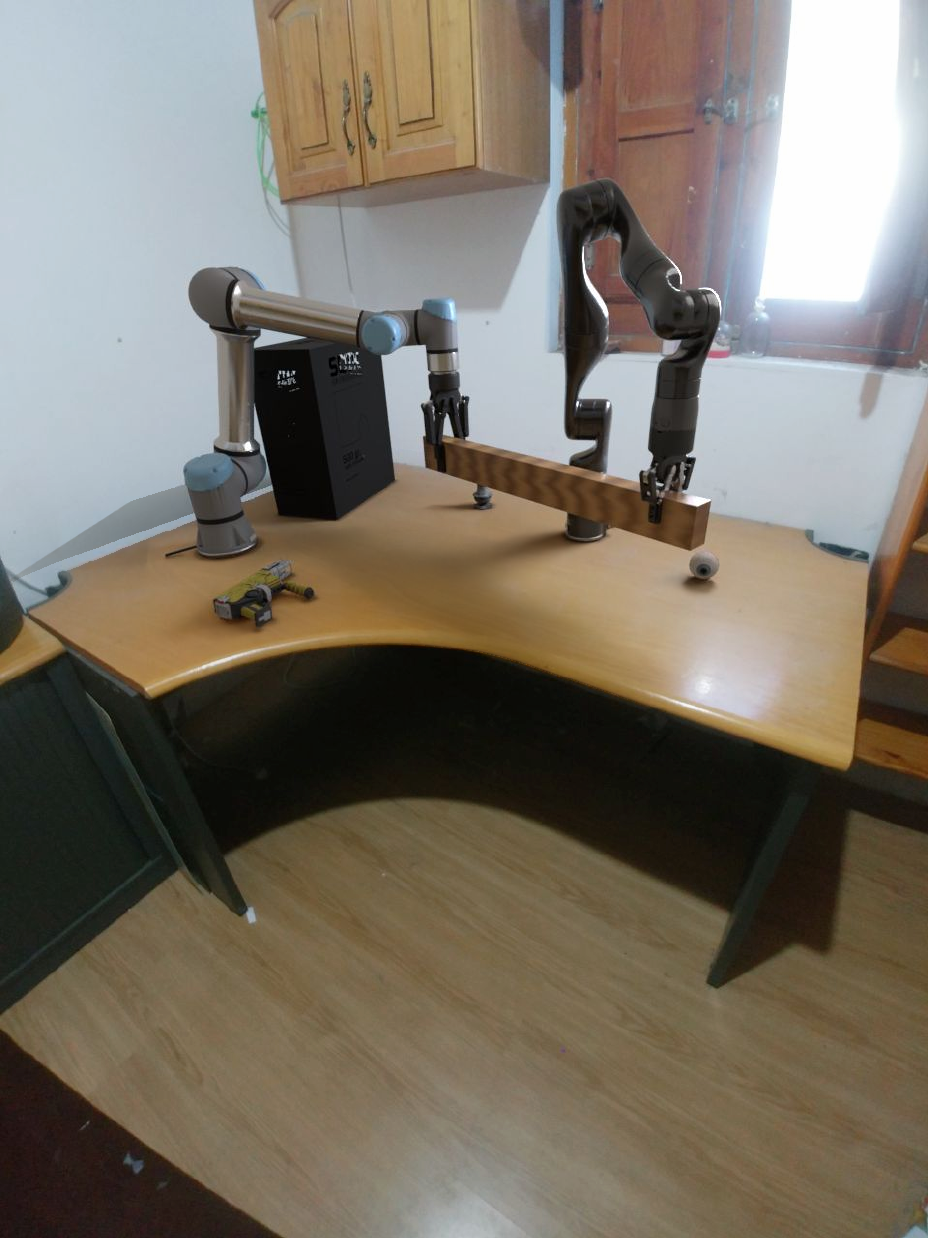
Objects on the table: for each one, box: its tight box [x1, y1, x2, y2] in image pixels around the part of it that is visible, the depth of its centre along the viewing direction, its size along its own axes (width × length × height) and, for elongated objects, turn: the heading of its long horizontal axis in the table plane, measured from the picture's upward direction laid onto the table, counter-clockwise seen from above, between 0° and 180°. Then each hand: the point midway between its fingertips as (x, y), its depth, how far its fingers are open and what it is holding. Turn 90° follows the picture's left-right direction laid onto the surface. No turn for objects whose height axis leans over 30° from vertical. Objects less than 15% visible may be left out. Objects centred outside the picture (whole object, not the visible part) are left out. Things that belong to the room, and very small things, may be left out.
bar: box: [422, 434, 712, 552], centre depth 131 cm, size 78×4×8 cm, turn 40°
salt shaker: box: [472, 484, 494, 510], centre depth 174 cm, size 6×6×12 cm
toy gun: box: [212, 558, 315, 628], centre depth 130 cm, size 5×24×15 cm
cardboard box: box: [254, 337, 396, 521], centre depth 180 cm, size 38×20×45 cm, turn 159°
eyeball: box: [688, 550, 720, 580], centre depth 128 cm, size 6×6×6 cm
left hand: (449, 468), depth 154 cm, fingers closed on bar, 4 cm apart
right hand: (662, 518), depth 110 cm, fingers closed on bar, 4 cm apart
